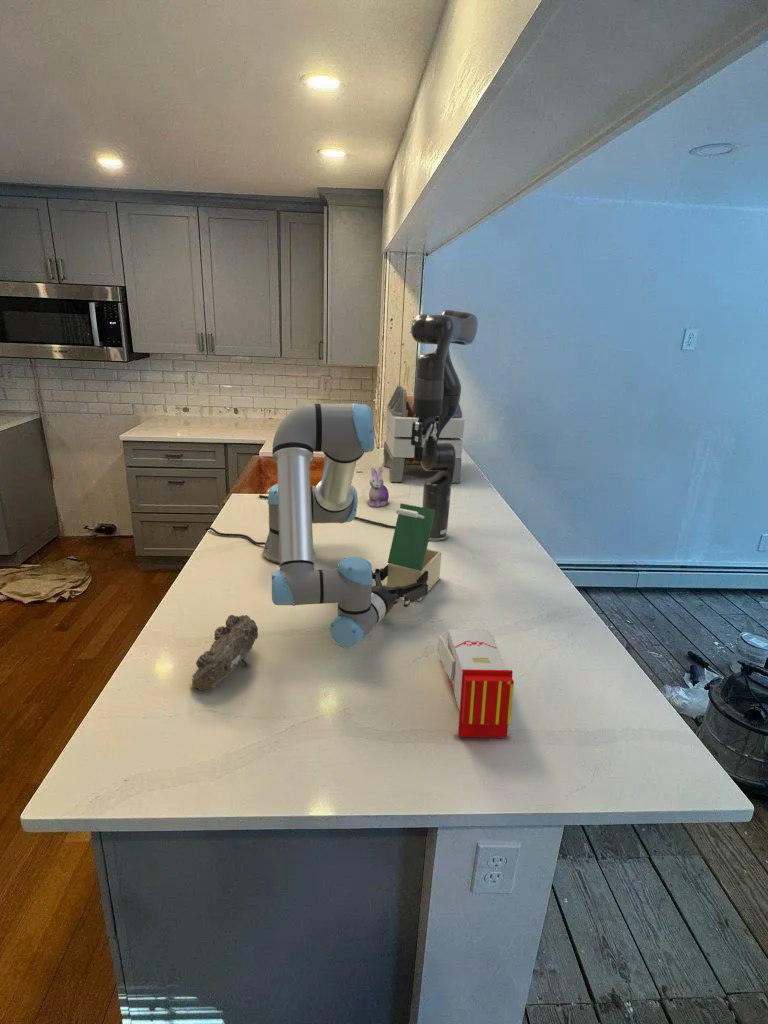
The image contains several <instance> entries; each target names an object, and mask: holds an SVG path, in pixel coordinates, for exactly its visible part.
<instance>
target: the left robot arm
mask: <svg viewBox="0 0 768 1024" xmlns="http://www.w3.org/2000/svg"><path fill="white" fill-rule="evenodd" d="M372 413H373V411H372V409H371V407H370V406H369V404H362V403H356V402H355V403H354V402H353V403H315V402H308V403H307V402H306V403H303V404H300V405H298V406H296V407H294V408H293V409H291V411H289V412H288V413H287V414H286V415H285V417H283V419H282V420H281V421H280V423H279V425H278V427H277V429H276V432H275V434H274V437H273V441H272V450H271V451H272V460H273V461H274V462H275V463H276V469H277V470H276V471H277V472H276V473H277V475H276V476H277V483H275V484H274V485H272V486H271V487H270V488H269V489H268V495H267V496H268V499H267V504H268V535H267V538H266V541H265V542H264V541H255V540H254V539H253V538H251V537H250V536H249V535H246V534H243V533H225V532H220V531H218V530H216V529H215V528H213V527H212V526H208V527H206V528H205V529H204V531H209V530H210V531H211V532H213V533H215V534H217V535H219V536H223V537H241V538H245V539H248V540H249V541H250V542H251V543H252V544H254V545H256V546H257V545H258V546H259V545H260V546H261V545H262V546H263V556H264V558H265V559H267V560H268V561H269V562H272V563H276V564H279V570H276V571H273V572H272V573H271V602H272V603H273V604H274V605H275V606H292V607H295V606H304V605H305V606H306V605H322V604H326V605H327V604H337V616H336V617H335V618H334V619H333V621H331V623H330V625H329V635H330V638H331V639H332V642H334V643H335V644H336V645H337V646H339V647H341V648H343V649H352V648H354V647H356V646H357V645H358V644H359V643H360V642H363V640H365V638H366V636H368V634H370V632H372V630H374V628H375V627H376V626H377V625H378V624H379V623H380V622H381V620H383V618H385V616H387V615H388V613H390V612H391V610H392V609H393V607H394V605H398V604H403V607H404V608H408V607H409V606H410V605H411V604H412V603H414V602H416V601H417V600H418V599H420V598H421V597H423V596H424V597H426V596H427V595H428V592H429V591H428V585H427V581H428V571H425V572H424V573H423V574H422V575H421V576H420V577H419V578H418V579H417V583H413V584H410V585H406V586H403V587H400V586H397V587H394V588H392V587H387V585H383V581H384V580H385V579H387V577H388V564H387V565H386V566H384V567H383V568H382V567H381V568H375V569H374V571H373V566H372V564H371V562H370V561H369V560H367V559H366V558H364V557H359V556H348V557H345V558H342V559H341V560H340V561H339V562H338V566H337V568H325V569H323V568H322V569H315V558H314V556H315V555H314V536H313V533H314V532H313V531H314V530H313V524H345V523H351V522H353V521H354V520H355V519H354V518H355V517H356V515H357V511H358V510H357V508H358V501H359V499H358V492H357V489H356V487H354V485H352V483H353V478H354V475H355V470H356V466H357V461H359V460H360V459H361V458H362V457H363V455H364V454H365V453H369V452H372V451H374V449H375V433H374V420H373V419H374V418H373V414H372ZM314 452H315V453H316V452H317V453H323V454H324V460H323V467H322V468H323V469H322V474H321V475H322V476H321V480H320V481H319V482H318V483H317V484H316V485H311V466H310V465H311V464H310V463H311V462H312V461H313V460H314V457H315V456H314ZM373 580H374V582H373ZM373 584H374V585H373ZM424 597H423V598H424Z"/></svg>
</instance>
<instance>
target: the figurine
mask: <svg viewBox="0 0 768 1024" xmlns="http://www.w3.org/2000/svg"><path fill="white" fill-rule="evenodd" d="M383 470H384V469H383V466H380V467H379V468H378V469H377V470H376V468H375V467H372V468H371V478H370V480H369V485H370V489H369V492H368V498H369V499H368V500H367V501H368V505H369V506H370V507H383V506H387V505H388V503H389V499H390V498H389V497H390V494H389V491H388V488H387V486H385V484H384V483H385V482H384V478H383V475H382V474H383Z"/></svg>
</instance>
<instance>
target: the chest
mask: <svg viewBox="0 0 768 1024" xmlns="http://www.w3.org/2000/svg"><path fill="white" fill-rule="evenodd" d="M387 565H388V576H387V577H386V579H387V581H386V586H387V587H392V588H394V587H397V586H400V587H403V586H406V585H410V584H413V583H417V579H418V578H419V577H420V576H421V575H422V574H423V573H424V572H425V571H428V581H427V585H428V592H429V591H430V590H431V589H432V588H433V587H434V586H435V584H436V583H437V582H438V581H439V580H440V577H441V565H442V551H439V550H435V549H431V548H427V551H426V555H425V560H424V564H423V569H422V571H420V570H416V569H411V568H407V567H403V566H399V565H395V564H391V563H387ZM424 597H425V596H423V597H421V598H420V599H418V600H416V601H418V602H420V601H422V599H423V598H424Z"/></svg>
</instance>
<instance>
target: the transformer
mask: <svg viewBox="0 0 768 1024" xmlns="http://www.w3.org/2000/svg"><path fill="white" fill-rule="evenodd" d="M407 394H408V393H407V390H406V389H404V388H403V387H402V385H399V384H398V385H397V386H396V388H395V390H394V392H393V394H392V395H391V398H390V400H389V402H388V404H387V405H386V413H385V414H386V415H385V423H386V428H385V438H384V442H383V466H384V467H388V468H389V475H388V476H389V477H388V478H389V480H390V482H391V483H402V482H403V475H404V469H405V466H406V467H407V466H411V467H412V466H413V467H415V466H416V467H417V466H418V467H422V464H421V461H415V460H414V450H415V446H413V445H411V436H412V424H413V422H418V418H419V416H418V415H415V414H414V413H413V403H414V395H412V396H411V395H407ZM464 429H465V419H464V418H463V411H462V408H461V405H460V404H459V406H458V409H457V411H456V413H455V414H454V416H453V417H452V418H451V419H450V421H449V422H448V423H447V424H446V426H445V427H444V428H443V430H442V431H441V433H440V436H439V438H438V442H437V443H450V444H452V445H453V446H454V448H455V453H456V460H455V468H454V475H453V482H452V484H455V483H456V484H459V483H461V472H462V461H463V460H462V453H463V442H464V441H463V440H462V439H463V438H464V431H465V430H464Z"/></svg>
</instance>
